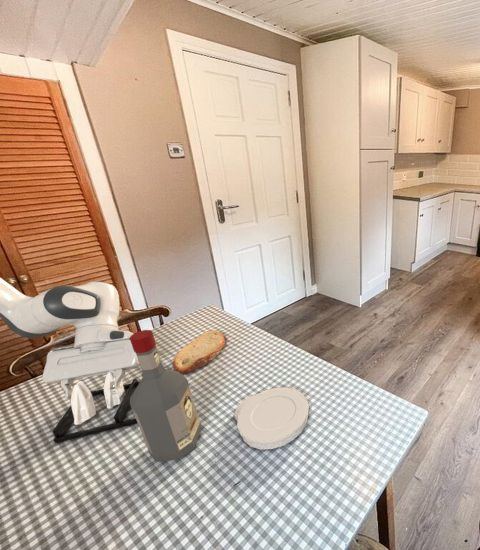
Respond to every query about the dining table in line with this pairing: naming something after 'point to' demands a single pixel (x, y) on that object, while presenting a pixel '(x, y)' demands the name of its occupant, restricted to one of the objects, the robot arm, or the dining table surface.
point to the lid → (272, 417)
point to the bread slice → (199, 352)
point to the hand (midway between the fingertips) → (93, 393)
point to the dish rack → (118, 417)
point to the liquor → (163, 404)
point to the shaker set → (84, 399)
